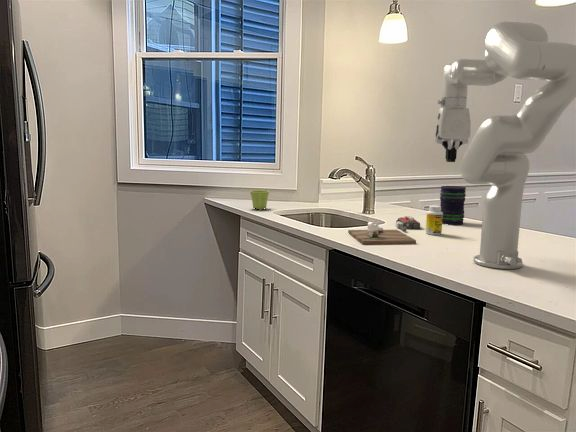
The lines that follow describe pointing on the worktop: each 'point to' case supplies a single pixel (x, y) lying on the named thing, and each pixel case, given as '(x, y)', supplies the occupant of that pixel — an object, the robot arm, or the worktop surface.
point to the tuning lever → (373, 229)
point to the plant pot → (259, 198)
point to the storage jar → (452, 204)
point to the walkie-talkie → (407, 223)
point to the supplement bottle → (434, 220)
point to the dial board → (382, 237)
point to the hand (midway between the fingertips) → (450, 161)
